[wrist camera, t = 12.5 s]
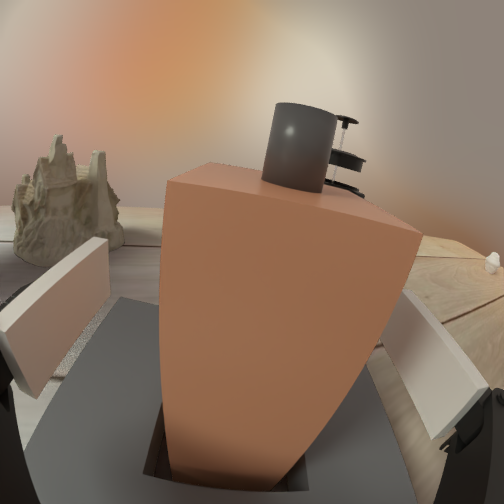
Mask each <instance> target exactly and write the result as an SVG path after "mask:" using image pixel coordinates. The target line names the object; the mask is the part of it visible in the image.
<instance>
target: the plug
mask: <svg viewBox="0 0 504 504" xmlns="http://www.w3.org/2000/svg"><path fill="white" fill-rule="evenodd" d="M337 120H338V117H337V116H335V115H334V114H332V113H329V112H327V111H324V110H322V109H318V108H315V107H311V106H306V105H301V104H295V103H277V104H276V107H275V112H274V117H273V122H272V127H271V132H270V137H269V142H268V147H267V152H266V157H265V162H264V167H263V171H260V170H254V169H248V168H243V167H237V166H231V165H225V164H218V163H212V162H210V163H207V164H205V165H202V166H200V167H198V168H195V169H193V170H191V171H188V172H186V173H184V174H181V175H179V176H177V177H174V178H172V179H170V180H168V181H167V187H166V196H165V206H164V217H163V229H162V243H161V260H160V286H159V347H160V372H161V388H162V402H163V413H164V423H165V432H166V440H167V448H168V455H169V462H170V468H171V474H172V480H173V481H176V482H181V483H187V484H192V485H198V486H205V487H213V488H221V489H232V490H245V491H270V490H271V489H272V488H273V487H274V486H275V485H276V484H277V483H278V482H279V481H280V480H281V479H282V478H283V477H284V475H285V474H286V473H287V472H288V471H289V470H290V469H291V468H292V467H293V465H294V464H295V463H296V462H297V461H298V460H299V458H300V457H301V456H302V455H303V454H304V452H305V451H306V450H307V449H308V447H309V446H310V445H311V444H312V442H313V441H314V440H315V438H316V437H317V436H318V435H319V433H320V432H321V431H322V429H323V428H324V427H325V425H326V424H327V422H328V421H329V420H330V418H331V417H332V415H333V414H334V413H335V411H336V410H337V408H338V407H339V405H340V404H341V402H342V401H343V399H344V398H345V396H346V395H347V393H348V392H349V390H350V388H351V387H352V385H353V384H354V382H355V380H356V379H357V377H358V376H359V374H360V372H361V371H362V369H363V367H364V365H365V364H366V362H367V360H368V358H369V357H370V355H371V353H372V351H373V349H374V348H375V346H376V344H377V342H378V340H379V338H380V336H381V334H382V332H383V330H384V328H385V326H386V324H387V322H388V320H389V318H390V316H391V314H392V312H393V310H394V308H395V305H396V303H397V301H398V299H399V297H400V294H401V292H402V290H403V287H404V285H405V282H406V280H407V278H408V275H409V273H410V270H411V268H412V265H413V262H414V260H415V257H416V254H417V251H418V249H419V246H420V243H421V240H422V237H423V234H422V233H421V232H419V231H418V230H416V229H414V228H413V227H411V226H410V225H408V224H406V223H405V222H403V221H402V220H400V219H398V218H396V217H395V216H393V215H391V214H390V213H388V212H386V211H384V210H383V209H381V208H379V207H378V206H376V205H374V204H372V203H370V202H369V201H367V200H365V199H363V198H361V197H359V196H357V195H356V194H354V193H352V192H350V191H348V190H344V189H341V188H337V187H333V186H329V185H325V184H324V181H325V176H326V172H327V167H328V163H329V159H330V154H331V149H332V145H333V140H334V135H335V130H336V125H337Z"/></svg>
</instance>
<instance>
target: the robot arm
mask: <svg viewBox="0 0 504 504" xmlns="http://www.w3.org/2000/svg"><path fill="white" fill-rule="evenodd" d="M110 295H111V290H110V275H109V250H108V239H104V238H99V237H92V238H91V239H90V240H88V241H87V242H85V243H84V244H83V245H81V246H80V247H78V248H77V249H76V250H74V251H73V252H72V253H70V254H69V255H68V256H66V257H65V258H64V259H62V260H61V261H60V262H58V263H57V264H56V265H55V266H53V267H52V268H51V269H49V270H48V271H47V272H46V273H44V274H43V275H42V276H41V277H40V278H38V279H37V280H36V281H35V282H32V283H30V284H28V285H26V286H24V287H21V288H20V289H19V290H18V291H17V292H15V293H14V294H13V295H12V297H10V298H8V299H7V300H6V302H5V303H3V304H2V305H1V306H0V504H41V503H40V501H39V498H38V496H37V493H36V491H35V488H34V485H33V482H32V479H31V476H30V473H29V470H28V467H27V463H26V460H25V456H24V452H23V448H22V444H21V440H20V435H19V430H18V425H17V419H16V413H15V406H14V399H13V391H12V388H11V386H10V383H11V381H12V380H13V378H14V380H15V382H16V383H17V385H18V387H19V389H20V390H21V391H23V392H24V393H26V394H28V395H30V396H31V397H33V398H35V399H37V398H38V396H39V395H40V393H41V392H42V390H43V388H44V387H45V385H46V384H47V382H48V381H49V379H50V377H51V376H52V374H53V373H54V371H55V370H56V368H57V367H58V365H59V364H60V362H61V361H62V360H63V358H64V357H65V355H66V354H67V352H68V351H69V349H70V348H71V347H72V345H73V344H74V342H75V341H76V340H77V338H78V337H79V336H80V334H81V333H82V331H83V330H84V329H85V327H86V326H87V325H88V323H89V322H90V321H91V319H92V318H93V317H94V315H95V314H96V313H97V312H98V310H99V309H100V308H101V306H102V305H103V304H104V303H105V301H106V300H107V299H108V298H109V296H110ZM380 340H381V342H382V344H383V345H384V347H385V349H386V351H387V353H388V354H389V356H390V358H391V360H392V362H393V364H394V366H395V367H396V369H397V371H398V373H399V375H400V377H401V379H402V381H403V383H404V385H405V387H406V388H407V390H408V392H409V394H410V396H411V398H412V400H413V402H414V405H415V407H416V409H417V411H418V413H419V415H420V417H421V419H422V421H423V423H424V425H425V428H426V430H427V432H428V434H429V436H430V439H431V440H434V439H437V438H440V437H443V436H445V435H446V434H447V433H448V432H449V431H450V430H451V429H452V428H453V427H454V426H455V428H456V430H457V431H456V432H455V433H454V434H453V435H452V436H451V437H450V438H449V439H448V440H447V441H446V442H444V443H443V444H442V445H441V447H440V449H439V450H442V449H443V448H444V447H445V446H446V445H450V446H449V447H447V448H446V449H445V450H444V452H447V453H448V455H447V459H446V463H445V467H444V471H443V475H442V478H441V482H440V485H439V488H438V491H437V494H436V497H435V500H434V503H433V504H504V390H502V389H500V388H495V389H494V390H493V391H492V390H491V389H490V388H489V385H488V383H487V382H486V381H485V379H484V378H483V376H482V375H481V374H480V372H479V371H478V370H477V368H476V367H475V366H474V364H473V363H472V362H471V360H470V359H469V358H468V356H467V355H466V354H465V352H464V351H463V350H462V349H461V347H460V346H459V345H458V344H457V342H456V341H455V340H454V339H453V337H452V336H451V335H450V334H449V332H448V331H447V330H446V329H445V328H444V326H443V325H442V324H441V323H440V322H439V321H438V319H437V318H436V317H435V316H434V315H433V314H432V312H431V311H430V310H429V309H428V308H427V307H426V306H425V305H424V303H423V302H422V301H421V300H420V299H419V298H418V297H417V296H416V295H415V293H414V292H413V291H412V290H408V289H403V290H402V292H401V294H400V297H399V299H398V301H397V303H396V305H395V308H394V310H393V312H392V314H391V316H390V318H389V320H388V322H387V324H386V326H385V328H384V330H383V332H382V334H381V336H380Z"/></svg>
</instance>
